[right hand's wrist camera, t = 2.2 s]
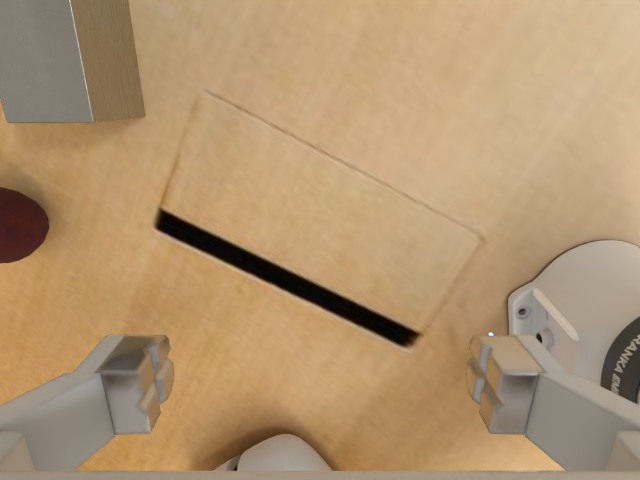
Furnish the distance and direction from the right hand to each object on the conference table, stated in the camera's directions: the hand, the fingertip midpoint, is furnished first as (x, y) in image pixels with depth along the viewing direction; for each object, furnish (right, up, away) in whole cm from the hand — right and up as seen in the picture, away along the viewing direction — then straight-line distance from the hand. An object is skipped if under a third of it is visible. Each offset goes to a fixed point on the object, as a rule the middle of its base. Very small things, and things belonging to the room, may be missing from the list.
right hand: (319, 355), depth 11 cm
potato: (-30, +6, +30) cm, 43 cm away
